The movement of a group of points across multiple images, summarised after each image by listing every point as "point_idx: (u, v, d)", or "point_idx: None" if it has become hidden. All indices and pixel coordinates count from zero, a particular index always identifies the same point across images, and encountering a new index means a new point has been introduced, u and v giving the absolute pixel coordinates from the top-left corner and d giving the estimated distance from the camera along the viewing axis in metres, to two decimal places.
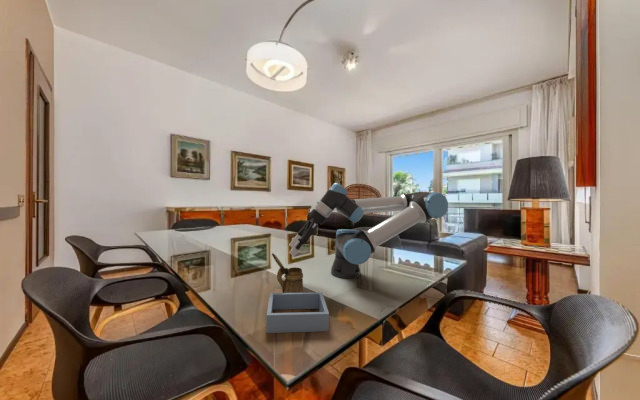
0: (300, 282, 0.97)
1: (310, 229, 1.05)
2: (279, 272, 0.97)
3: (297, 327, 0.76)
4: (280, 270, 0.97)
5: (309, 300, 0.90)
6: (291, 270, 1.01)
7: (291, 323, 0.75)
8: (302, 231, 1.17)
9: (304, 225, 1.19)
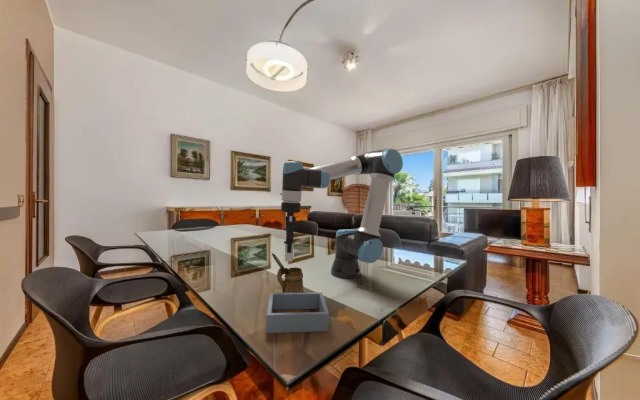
0: (300, 282, 0.97)
1: (289, 225, 0.90)
2: (279, 272, 0.97)
3: (297, 327, 0.76)
4: (280, 270, 0.97)
5: (309, 300, 0.90)
6: (291, 270, 1.01)
7: (291, 323, 0.75)
8: None
9: None
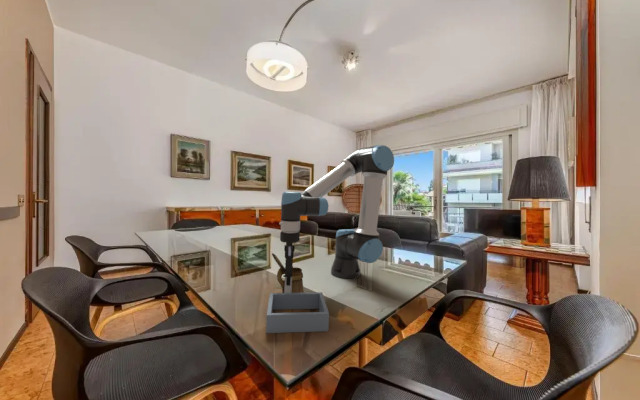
0: (300, 282, 0.97)
1: (288, 259, 0.91)
2: (279, 272, 0.97)
3: (297, 327, 0.76)
4: (280, 270, 0.97)
5: (309, 300, 0.90)
6: None
7: (291, 323, 0.75)
8: None
9: None
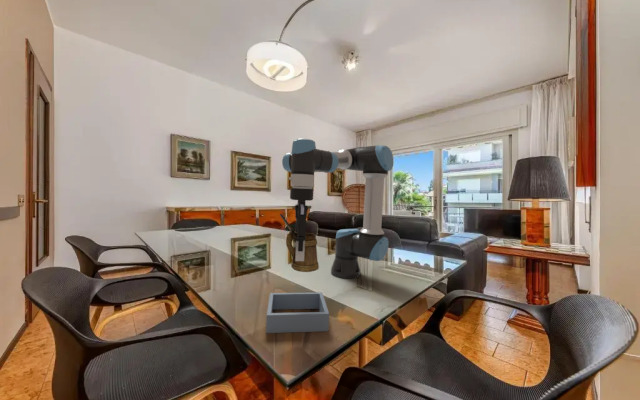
0: (314, 249, 0.81)
1: (300, 219, 0.75)
2: (289, 237, 0.80)
3: (297, 327, 0.76)
4: (290, 234, 0.81)
5: (309, 300, 0.90)
6: None
7: (291, 323, 0.75)
8: None
9: None
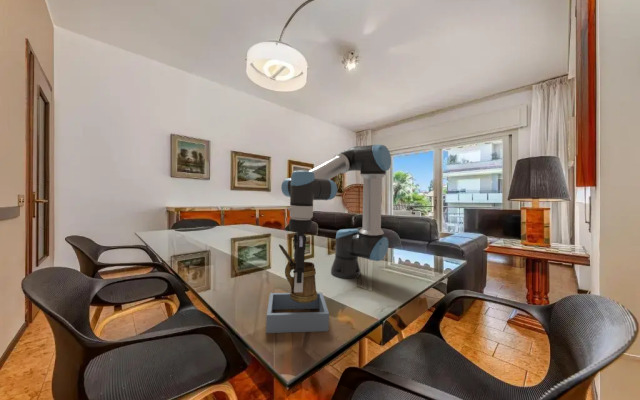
0: (312, 279, 0.81)
1: (299, 251, 0.76)
2: (287, 267, 0.81)
3: (297, 327, 0.76)
4: (289, 264, 0.81)
5: None
6: None
7: (291, 323, 0.75)
8: None
9: None
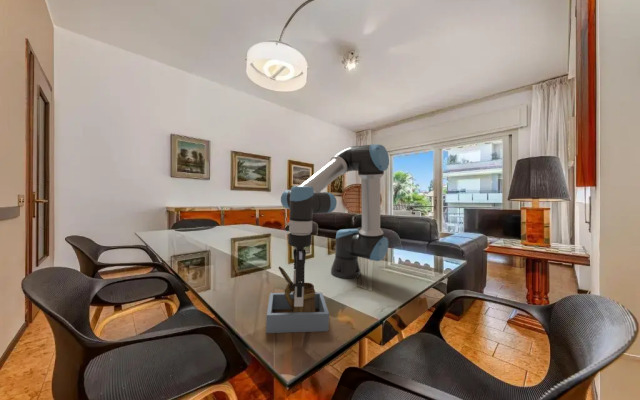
0: (312, 301, 0.82)
1: (299, 264, 0.75)
2: (287, 289, 0.81)
3: (297, 327, 0.76)
4: (288, 286, 0.82)
5: None
6: None
7: (291, 323, 0.75)
8: None
9: None
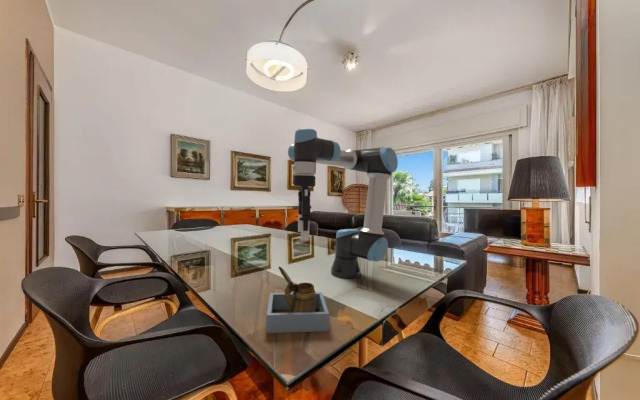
0: (312, 301, 0.82)
1: (304, 199, 0.79)
2: (287, 289, 0.81)
3: (297, 327, 0.76)
4: (288, 287, 0.82)
5: None
6: (301, 286, 0.85)
7: (291, 323, 0.75)
8: (301, 208, 0.92)
9: None
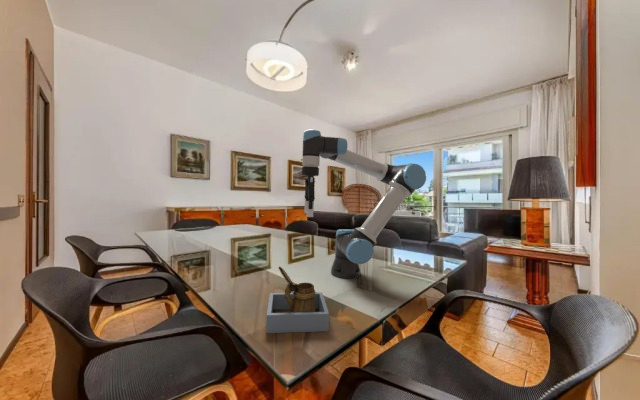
0: (312, 301, 0.82)
1: (310, 184, 1.02)
2: (287, 289, 0.81)
3: (297, 327, 0.76)
4: (288, 286, 0.82)
5: None
6: (301, 286, 0.85)
7: (291, 323, 0.75)
8: (307, 193, 1.15)
9: (305, 187, 1.16)
